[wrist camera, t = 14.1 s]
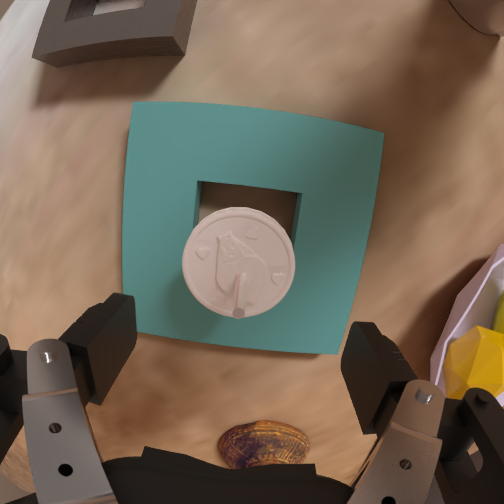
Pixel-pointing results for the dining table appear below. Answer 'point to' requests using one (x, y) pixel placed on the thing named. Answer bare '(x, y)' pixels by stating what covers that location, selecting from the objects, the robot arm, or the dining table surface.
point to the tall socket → (112, 31)
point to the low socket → (257, 175)
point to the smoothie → (238, 262)
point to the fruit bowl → (474, 336)
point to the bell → (263, 445)
